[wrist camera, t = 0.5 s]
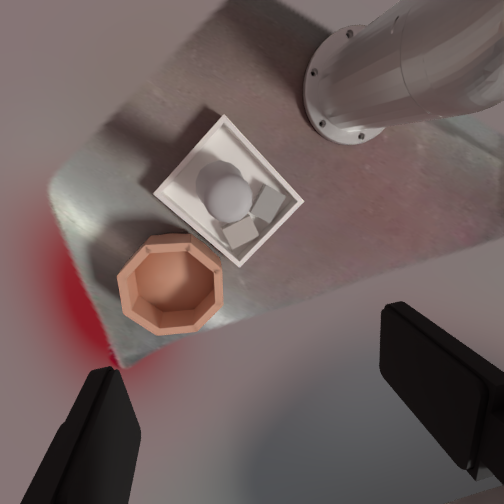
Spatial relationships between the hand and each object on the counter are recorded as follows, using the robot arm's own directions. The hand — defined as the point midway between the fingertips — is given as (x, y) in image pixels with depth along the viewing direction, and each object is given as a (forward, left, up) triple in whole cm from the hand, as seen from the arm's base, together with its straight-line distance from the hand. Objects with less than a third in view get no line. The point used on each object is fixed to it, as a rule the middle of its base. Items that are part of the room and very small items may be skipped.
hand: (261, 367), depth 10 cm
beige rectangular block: (0, +4, -29) cm, 29 cm away
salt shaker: (-3, -2, -29) cm, 29 cm away
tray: (-3, 0, -29) cm, 29 cm away
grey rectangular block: (-5, +4, -29) cm, 29 cm away
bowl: (+10, +2, -29) cm, 31 cm away
